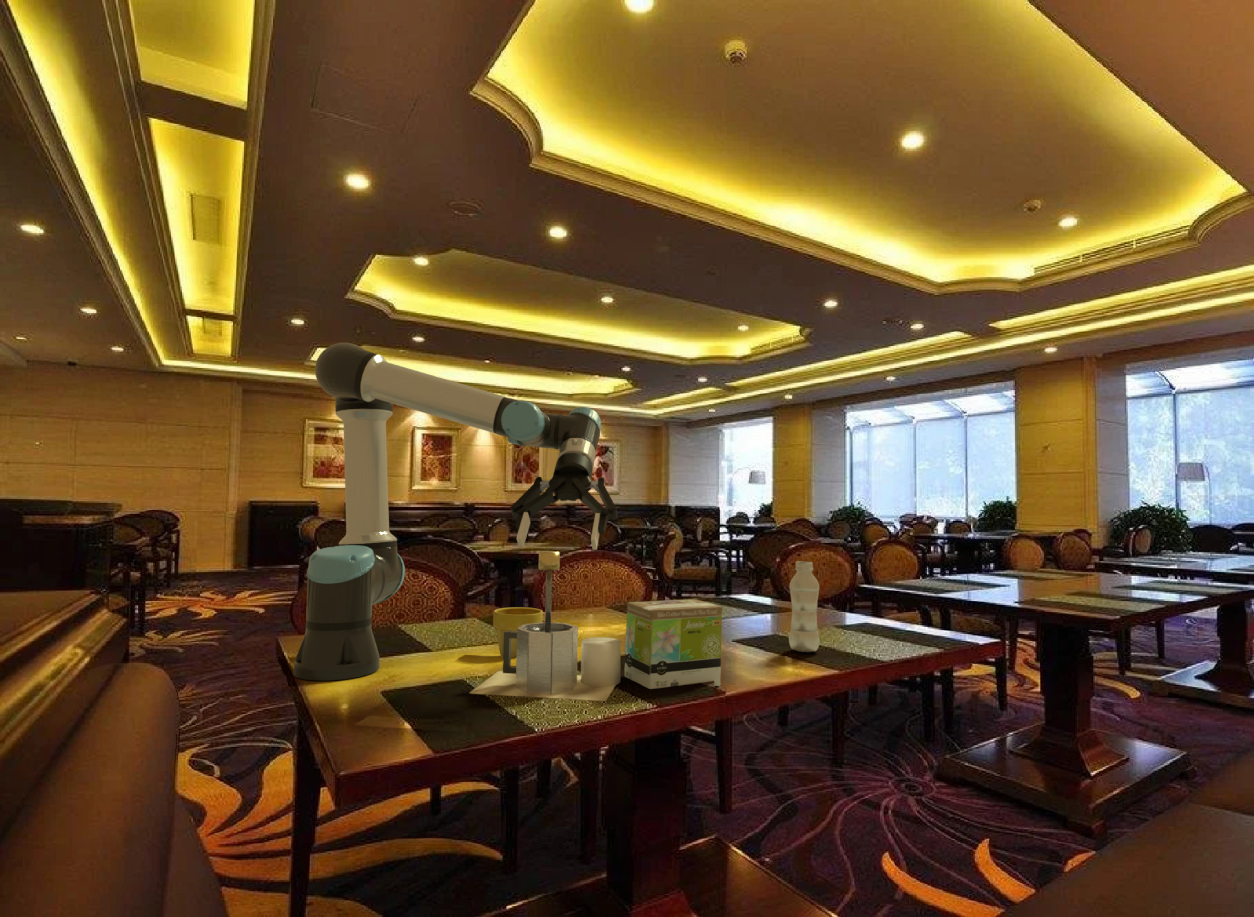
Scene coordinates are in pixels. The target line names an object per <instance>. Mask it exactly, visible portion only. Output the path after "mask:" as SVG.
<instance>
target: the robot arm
mask: <svg viewBox="0 0 1254 917" xmlns="http://www.w3.org/2000/svg"><path fill="white" fill-rule="evenodd" d="M314 373H315V378H316V382H317V383H318V385H319V386H320V388H321V389H322V390H323V391H324V392H325V393H326V394H328V395H330V397H333V398H334V407H335V408H334V409H335V410H334V411H335V413H334V414H335V416H336V417H337V418H339V419H340V420H341V422H342V425H343V454H344V456H343V457H344V459H343V460H344V489H345V490H344V494H345V523H346V524H345V525H346V526H345V528H346V530H345V531H346V532H345V536H343V537H342V538H341V540H340V541H339V542H338V545H337V546H329V547H328V546H327V547H323V548H319V549H318V550H315V551H314V552H313V553H312V554H311V555H310V556H309V560H308V568H307V570H306V574H307V575H306V576H307V589H306V610H305V611H306V612H305V614H306V615H305V616H306V617H305V633H304V635H303V639H302V640H301V644H300V647H299V649H298V650H297V654H296V657H295V659H294V663H293V676H294V677H296V678H297V679H301V680H307V681H339V680H347V679H348V680H349V679H354V678H355V679H356V678H360V677H365V676H367V675H371V674H373V673H375V672H377V671H379V669H380V658H381V657H380V654H379V651H378V646H377V643H376V640H375V637H374V632H373V630H372V621H373V620H372V618H373V605H377V604H381V603H383V602H385V601H387V600H388V599H390V598H391V597H392V596H393V595H395V594H396V592H398V591H399V589H400V588H401V586H402V585H403V583H404V579H405V574H406V567H405V563H404V561H403V558H402V557H401V556H400V554H399V553H398V539H397V537H395V536H394V535H393V534H392V533H391V532H390V520H389V519H390V518H389V517H390V514H389V487H388V483H389V482H388V453H387V451H388V450H387V421H388V420H389V419H390V418H391V417H392V416H393V415H394V414H393V410H394V407H393V405H396V406H399V407H403V408H405V409H406V408H407V409H410V410H413V411H416V412H421V413H423V414H426V415H431V416H434V417H438V418H441V419H444V420H448V421H450V422H451V421H452V422H455V423H459V424H461V425H465V426H468V427H471V428H476V429H478V430H481V431H485V432H489V433H493V434H495V435H497V436H502V437H506V440H507V442H508V443H509V444H511V445H517V446H521V447H531V448H533V447H534V448H540V449H541V448H542V449H553V450H559V452H558V455H557V460H556V463H555V466H554V470H553V473H552V477H551V479H549V480H545V479H544V480H543V478H542V476H537V477H536V478H535V480H534V482H533V484H532V485H531V486H529V488H528V489H526V491H525V492H524V493H523V494H522V495H521V496H520V497H519V498H518V499H517V500H516V501H515V502H513V504H512V505H511V506H510V511H511V515H512V518H513V519H514V520H515V519H516V522H515V528H516V532H517V535H516V541H517V545H518V548H519V549H524V547H525V543H526V539H527V535H528V533H529V529H530V526H531V518H532V517H534V516H535V515H537V514H538V513H540V512H541V511H542V510H544V509H545V508H546V507H548V506H549V505H550V504H553V505H554V504H555V503H556V502H558V501H560V502H566V501H571V502H576V501H578V500H579V501H581V503H582V504H583V505H585V506H586V507H587V508H588V509H589V510H590V511H591V512H592V513H593V514H594V519H593V520H594V521H593V525H592V531H591V536H590V542H591V547H592V548H591V549H592V550H594V551H595V550H598V545H599V539H600V534H605V532H606V529H607V525H608V524H607V523H608V521H609V520H612V521H616V520H617V519H618V510H617V507H616V505H615V503H614V501H613V499H612V497H611V495H610V493H609V492H608V490H607V487H606V484H605V483H606V482H605V478H604V477H602V476H600V477H598V478H597V480H591V479H592V475H593V470H594V466H595V459H596V455H597V449H598V445H599V441H600V438H601V430H602V429H601V426H602V419H601V417H600V415H599V413H598V412H597V411H596V410H594V409H592V408H590V407H587V406H579V407H577V408H573V409H572V410H571V411H570V412H569V414H568V415H567V414H554V413H549V412H543V411H542V410H541V409H540V408H539V406H537V405H536V404H535V403H533V402H530V401H527V400H522V399H520V400H517V399H515V398H511V397H506V396H505V395H501V394H497V393H495V392H490V391H487V390H484V389H480V388H478V387H477V388H476V387H473V386H470V385H467V384H464V383H460V382H456V381H453V380H450V379H445V378H443V377H440V376H436V375H433V374H430V373H429V374H428V373H426V372H421V371H418V370H415V369H412V368H409V367H405V366H402V365H398V364H396V363H395V364H394V363H391V362H388V361H387V360H386V358H385V357H384V355H382V354H378V353H375V352H372V351H369V350H367V349H364V348H363V347H361V346H360V345H358V344H354V343H349V342H338V343H334V344H331V345H329V346H328V347H326V348H325V349H324V350H323V351H322V352H321V353H320V354H319V356H318V358H316V362H315V368H314ZM592 489H594V491H595V492H596V493H597V494H598V495H599V498H600V499H601V501H602V503H603V505H604V506H603V505H602V504H601V503H600V502H599V501H598V500H597V499H596V498H595V497H594V496H593V495H592V494H591V493H590V491H591V490H592Z"/></svg>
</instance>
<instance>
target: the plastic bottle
mask: <svg viewBox="0 0 1254 917" xmlns="http://www.w3.org/2000/svg"><path fill="white" fill-rule="evenodd" d="M813 564H814V563H813V562H812V561H806V560H805V561H802V560H801V561H799V560H798V561H795V570H796V573H795V574H794V575H793V577H792V578H791V580H790V583H789V592H790V593H789V594H790V600H791V623H790V631H789V634H788V643H789V646H790V648H791V649H792V650H794V651H796V652H801V653H804V652H806V653H811V652H817V650H818V649H819V646H820V636H819V635H820V634H819V631H818V619H817V617H818V615H817V614H818V611H817V610H818V602H819V601H818V600H819V594H820V592H819V591H820V584H819V581H818V580H817V578H816V577H815V576H814V574H813V571H814V565H813Z"/></svg>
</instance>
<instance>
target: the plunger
mask: <svg viewBox="0 0 1254 917" xmlns="http://www.w3.org/2000/svg"><path fill="white" fill-rule="evenodd" d="M560 555H561V552H560V551H553V550H541V551H539V552H538V570H540V571H545V604H544V606H545V607H544V608H545V615H544V616H545V617H544V622H545V630H540V631H533V632H559V631H557V630H551V622H552V591H553V590H552V587H553V586H552V585H553V583H552V582H553V571H560V568H561V567H560V564H561V563H560V562H561V560H560V558H561V556H560Z"/></svg>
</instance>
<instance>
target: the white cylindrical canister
mask: <svg viewBox="0 0 1254 917" xmlns="http://www.w3.org/2000/svg"><path fill="white" fill-rule="evenodd" d="M580 642H581V647H580V650H581V651H580V658H581V659H580V675H581V683H582V684H585V685H588V686H596V687H605V686H613V685H615V686H617V685H618V684H620V683H621V654H622V652H621V650H622V648H621V647H622V646H621V644H622V642H621V640H620V639H617V638H615V637H614V638H613V637H603V636H602V637H600V636H599V637H590V638H589V637H588V638H584V639H582V640H581V641H580Z"/></svg>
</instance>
